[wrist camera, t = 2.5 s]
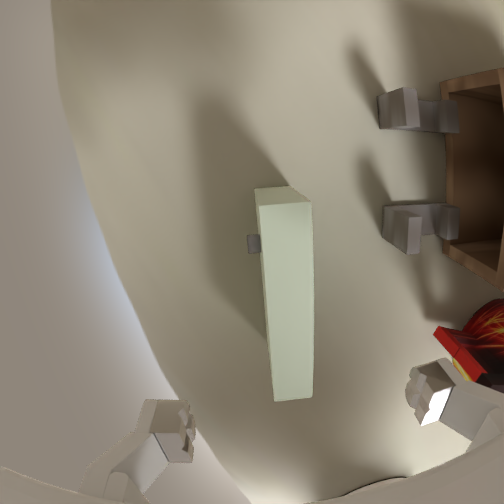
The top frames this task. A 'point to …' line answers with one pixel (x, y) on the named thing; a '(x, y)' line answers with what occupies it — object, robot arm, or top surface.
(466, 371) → the mug
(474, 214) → the cabinet
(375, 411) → the top surface
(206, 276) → the top surface
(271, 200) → the door
